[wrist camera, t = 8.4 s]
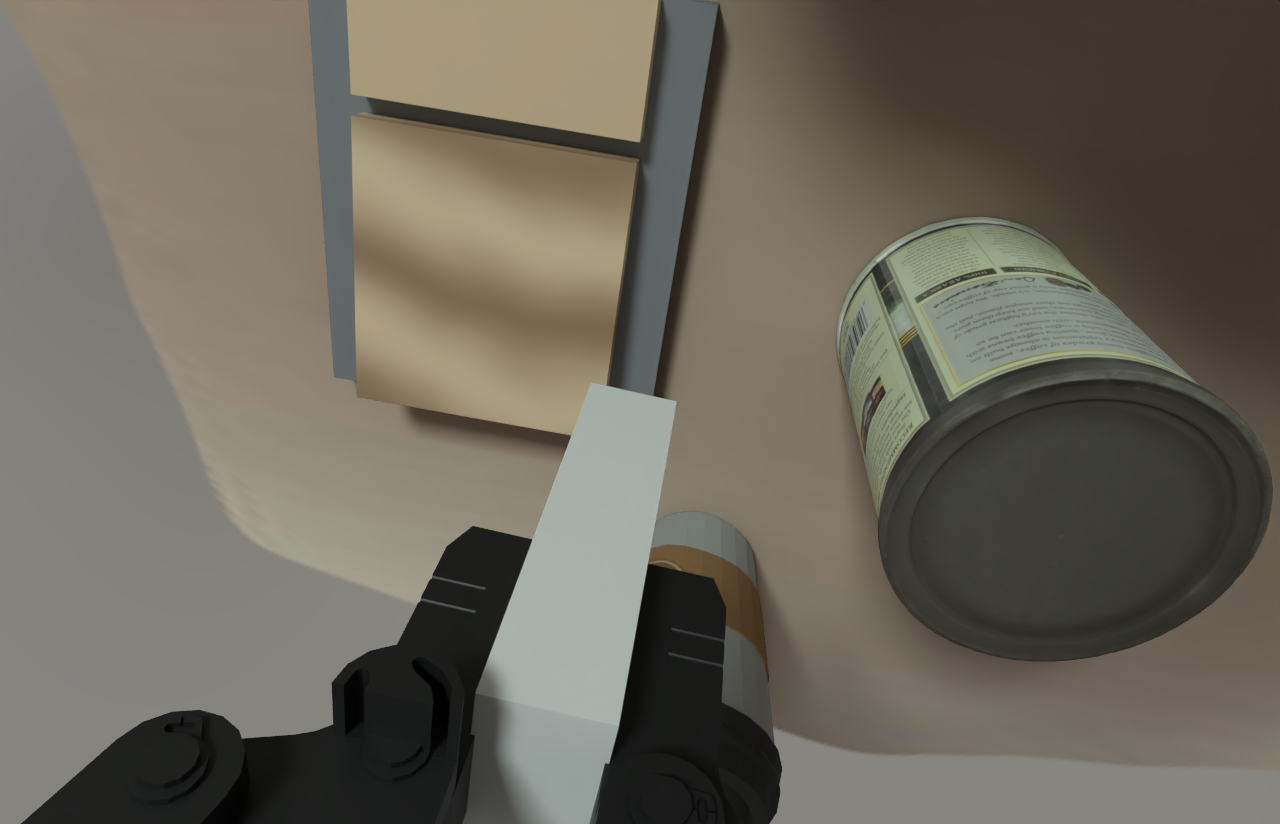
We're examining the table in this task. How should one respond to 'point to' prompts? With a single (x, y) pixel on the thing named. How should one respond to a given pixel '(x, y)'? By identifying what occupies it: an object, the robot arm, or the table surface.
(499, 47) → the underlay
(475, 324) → the plank
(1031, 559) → the coffee can
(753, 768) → the coffee cup
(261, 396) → the table surface
